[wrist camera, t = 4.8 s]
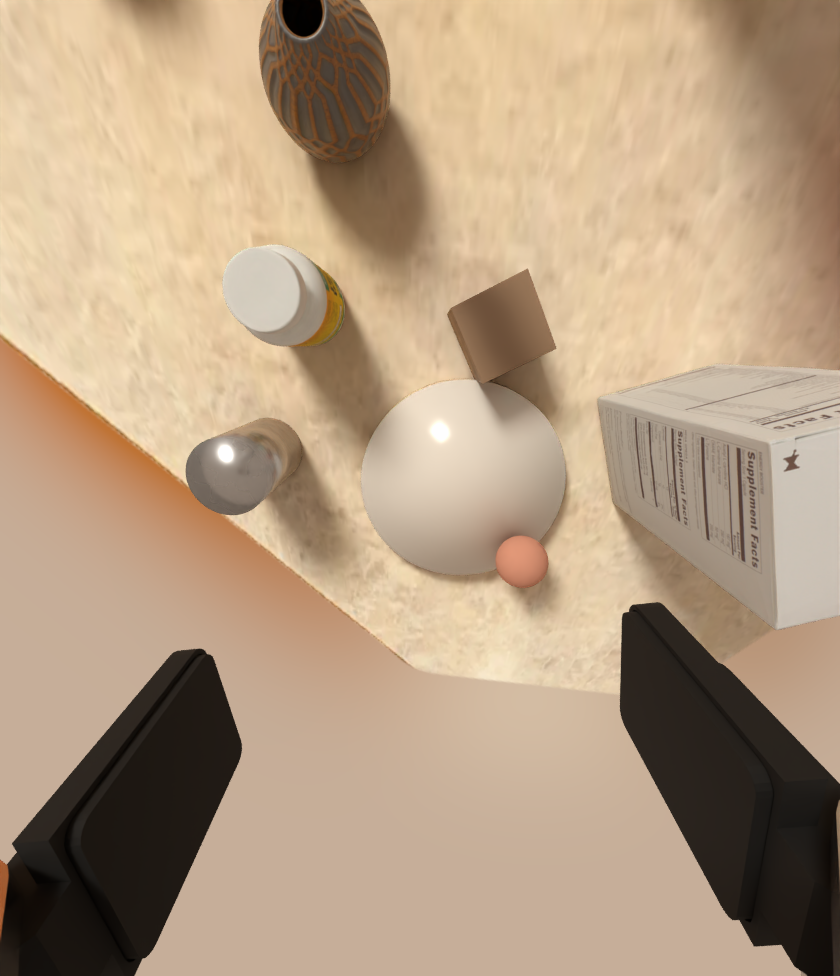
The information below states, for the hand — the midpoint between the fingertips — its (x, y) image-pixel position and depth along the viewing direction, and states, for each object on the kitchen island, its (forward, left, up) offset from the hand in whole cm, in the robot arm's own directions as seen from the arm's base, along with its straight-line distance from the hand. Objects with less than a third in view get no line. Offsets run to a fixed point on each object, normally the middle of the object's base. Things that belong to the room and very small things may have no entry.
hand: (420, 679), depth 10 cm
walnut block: (-6, -8, -25) cm, 27 cm away
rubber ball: (-7, +9, -24) cm, 26 cm away
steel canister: (+12, -1, -25) cm, 28 cm away
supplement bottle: (+7, -11, -25) cm, 28 cm away
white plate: (-3, +3, -25) cm, 25 cm away
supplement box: (-19, +1, -25) cm, 31 cm away
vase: (+3, -22, -25) cm, 33 cm away
